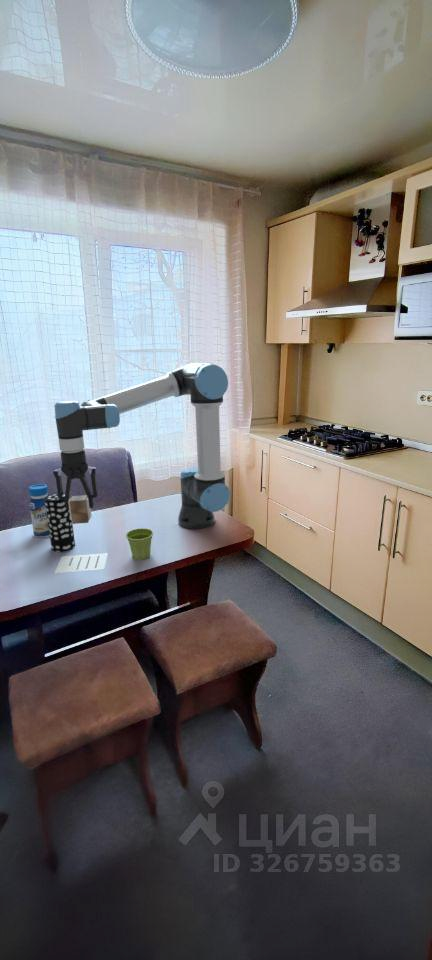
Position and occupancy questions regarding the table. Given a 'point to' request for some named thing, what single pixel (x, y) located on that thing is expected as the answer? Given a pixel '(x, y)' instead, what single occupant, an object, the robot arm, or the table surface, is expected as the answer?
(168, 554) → the table surface
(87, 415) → the robot arm
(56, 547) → the white-spotted black cylinder
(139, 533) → the plant pot
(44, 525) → the beverage bottle
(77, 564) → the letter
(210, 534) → the table surface
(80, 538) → the table surface
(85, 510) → the block
